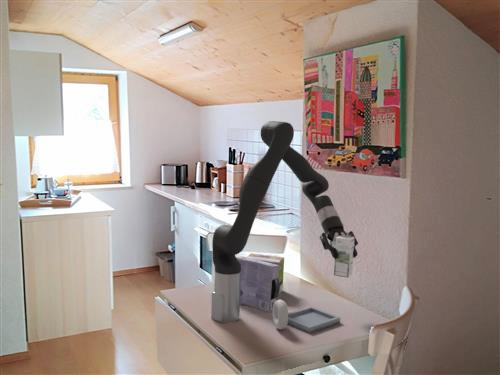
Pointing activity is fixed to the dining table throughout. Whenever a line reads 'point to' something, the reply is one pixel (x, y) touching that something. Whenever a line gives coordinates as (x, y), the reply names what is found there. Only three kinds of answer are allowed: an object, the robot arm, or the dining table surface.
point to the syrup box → (344, 256)
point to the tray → (311, 319)
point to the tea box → (271, 260)
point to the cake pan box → (258, 283)
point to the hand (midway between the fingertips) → (346, 257)
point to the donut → (280, 314)
